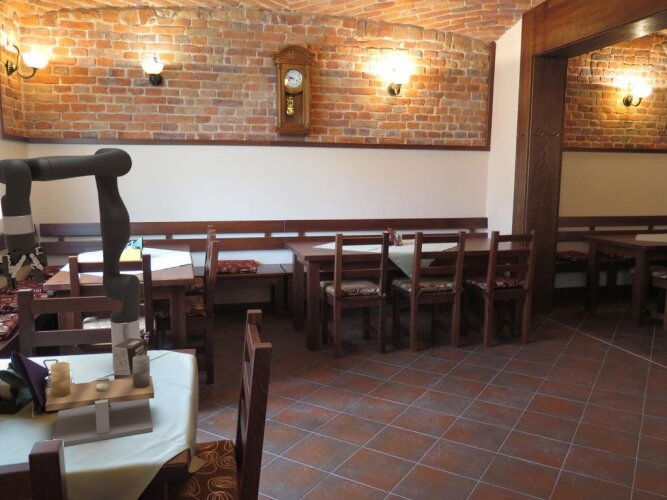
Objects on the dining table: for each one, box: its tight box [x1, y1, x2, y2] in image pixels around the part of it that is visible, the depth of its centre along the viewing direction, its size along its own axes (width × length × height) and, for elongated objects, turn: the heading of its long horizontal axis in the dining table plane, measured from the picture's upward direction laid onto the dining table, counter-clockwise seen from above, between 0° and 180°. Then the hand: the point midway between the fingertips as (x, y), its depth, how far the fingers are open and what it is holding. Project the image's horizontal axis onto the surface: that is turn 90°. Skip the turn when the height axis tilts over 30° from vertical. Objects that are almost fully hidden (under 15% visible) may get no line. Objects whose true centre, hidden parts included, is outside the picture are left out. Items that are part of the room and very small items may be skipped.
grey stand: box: [51, 376, 153, 447], centre depth 143 cm, size 24×19×10 cm
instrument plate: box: [45, 354, 155, 412], centre depth 142 cm, size 26×13×10 cm, turn 112°
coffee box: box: [112, 338, 148, 380], centre depth 162 cm, size 9×6×16 cm
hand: (26, 286), depth 151 cm, fingers open, 8 cm apart
